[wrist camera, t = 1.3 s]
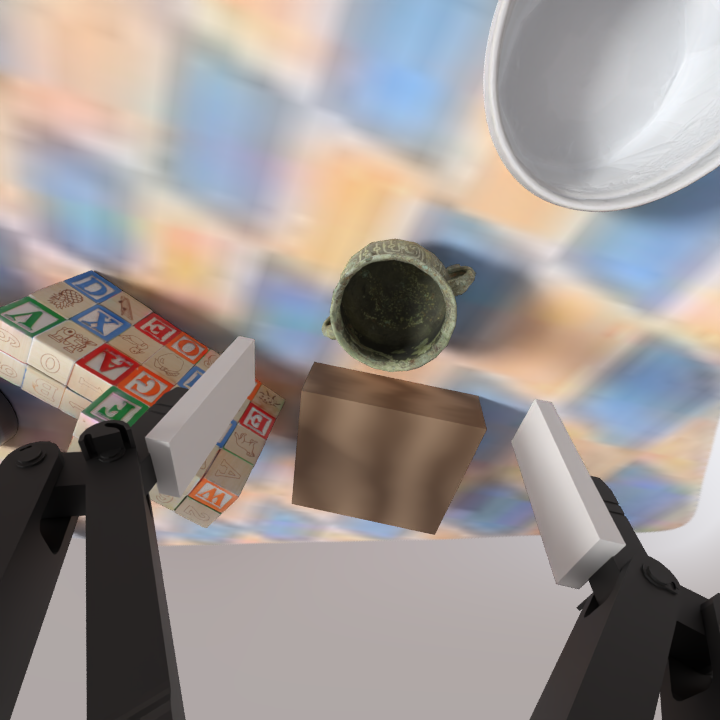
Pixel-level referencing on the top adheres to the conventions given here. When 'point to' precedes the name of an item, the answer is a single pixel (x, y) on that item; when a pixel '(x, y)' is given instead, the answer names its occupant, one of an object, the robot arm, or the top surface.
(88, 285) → the stack of blocks
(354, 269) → the vessel
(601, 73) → the ramekin
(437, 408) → the walnut block
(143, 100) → the top surface
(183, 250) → the top surface
